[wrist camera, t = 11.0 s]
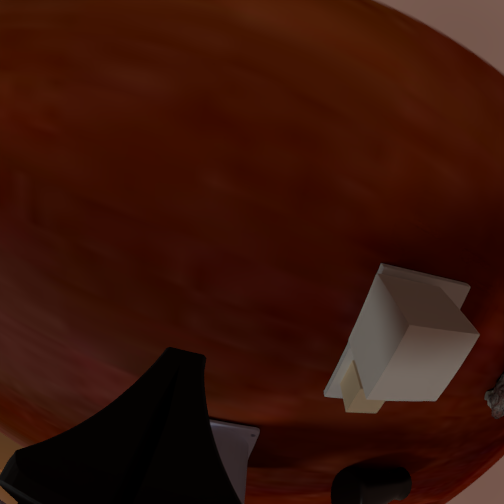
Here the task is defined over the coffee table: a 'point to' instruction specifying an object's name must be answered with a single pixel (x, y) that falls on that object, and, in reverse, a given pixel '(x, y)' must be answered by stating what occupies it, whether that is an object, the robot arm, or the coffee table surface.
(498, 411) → the mineral rock
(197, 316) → the coffee table surface
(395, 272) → the grey board
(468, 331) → the beige block
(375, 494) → the coffee pot
